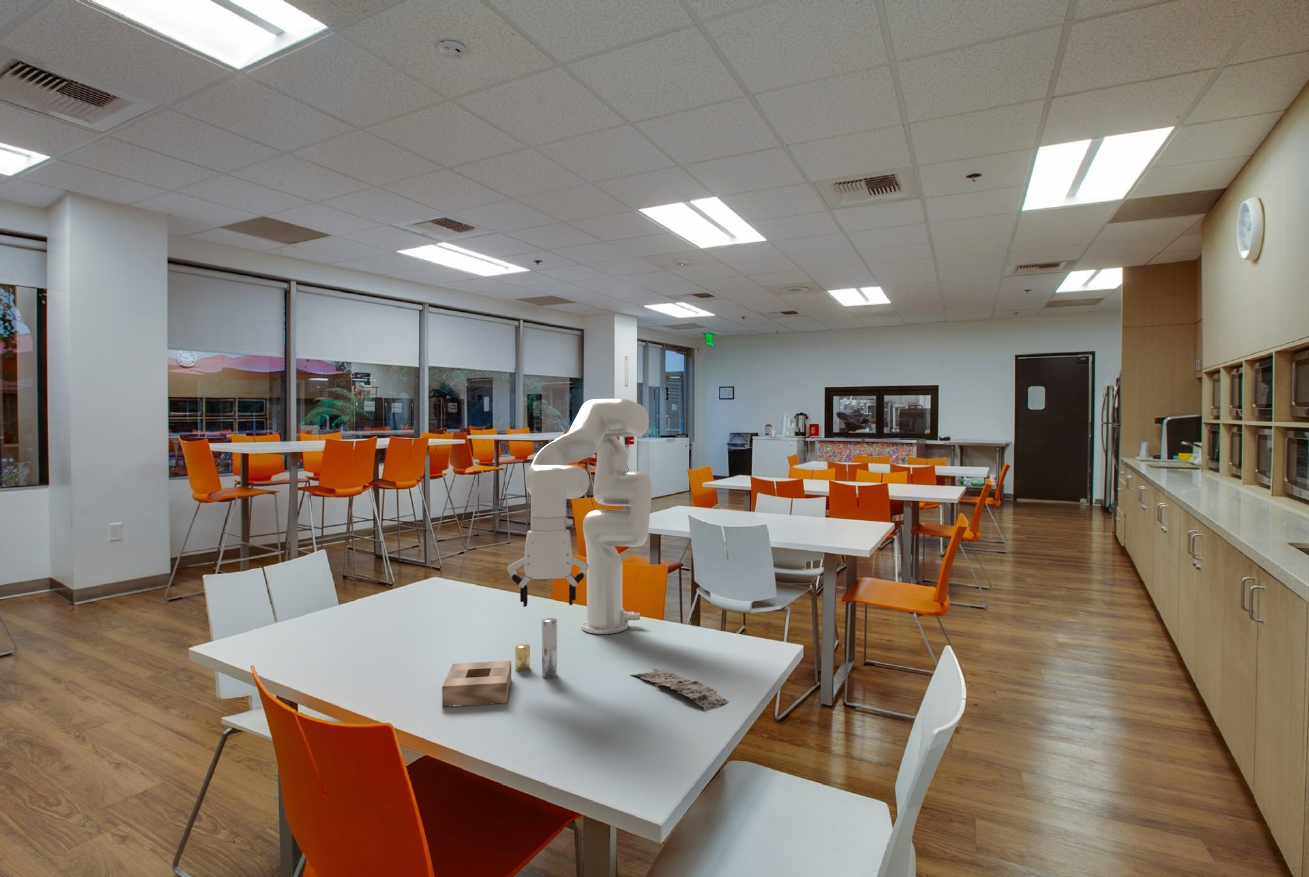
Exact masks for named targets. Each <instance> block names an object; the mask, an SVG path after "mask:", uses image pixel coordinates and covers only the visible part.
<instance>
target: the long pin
mask: <svg viewBox="0 0 1309 877" xmlns="http://www.w3.org/2000/svg"><path fill="white" fill-rule="evenodd" d="M557 676H558V619H557V618H554V617H547V618H543V619H541V677H542V678H544V679H554V678H556V677H557Z"/></svg>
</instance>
